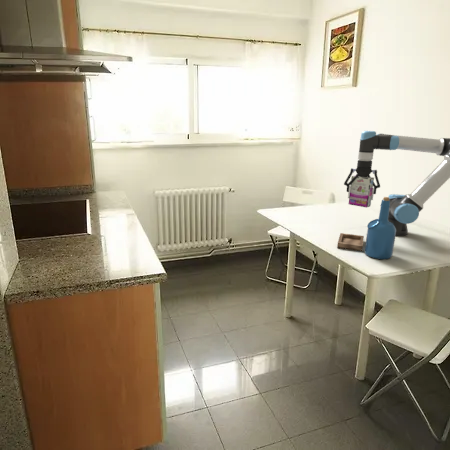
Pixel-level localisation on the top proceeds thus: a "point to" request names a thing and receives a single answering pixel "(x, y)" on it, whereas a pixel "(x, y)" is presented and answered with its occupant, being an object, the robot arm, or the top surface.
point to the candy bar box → (361, 191)
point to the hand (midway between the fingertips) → (360, 198)
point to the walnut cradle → (350, 242)
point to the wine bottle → (381, 234)
